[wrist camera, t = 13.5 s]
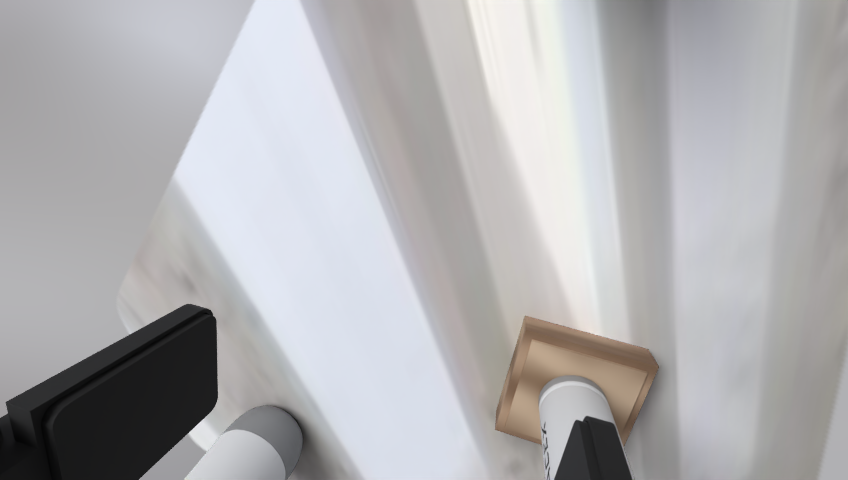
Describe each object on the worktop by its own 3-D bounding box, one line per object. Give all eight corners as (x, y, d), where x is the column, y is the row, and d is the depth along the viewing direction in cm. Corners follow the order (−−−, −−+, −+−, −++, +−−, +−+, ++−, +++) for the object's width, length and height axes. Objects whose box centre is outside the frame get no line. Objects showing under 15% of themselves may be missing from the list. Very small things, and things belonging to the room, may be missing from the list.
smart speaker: (322, 428, 50) (253, 535, 36) (291, 469, 53) (216, 581, 40) (263, 384, 50) (173, 474, 37) (235, 427, 53) (143, 525, 40)
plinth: (525, 315, 40) (526, 331, 37) (648, 349, 38) (660, 368, 35) (496, 410, 43) (495, 431, 40) (607, 445, 41) (615, 470, 38)
